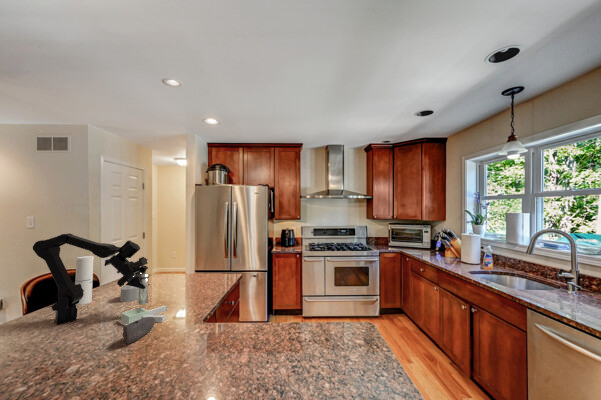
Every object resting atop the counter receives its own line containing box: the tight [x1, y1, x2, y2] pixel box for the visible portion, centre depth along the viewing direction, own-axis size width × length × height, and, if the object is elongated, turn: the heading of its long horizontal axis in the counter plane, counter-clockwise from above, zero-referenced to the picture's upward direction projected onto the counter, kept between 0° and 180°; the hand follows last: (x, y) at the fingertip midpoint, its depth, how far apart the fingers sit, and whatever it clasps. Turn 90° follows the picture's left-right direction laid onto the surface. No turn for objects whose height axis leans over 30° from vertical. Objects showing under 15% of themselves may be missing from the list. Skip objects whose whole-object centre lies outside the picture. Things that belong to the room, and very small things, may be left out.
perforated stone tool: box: [122, 317, 156, 345], centre depth 96 cm, size 15×5×7 cm, turn 168°
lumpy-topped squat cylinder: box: [119, 284, 139, 303], centre depth 140 cm, size 10×13×9 cm
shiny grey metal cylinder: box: [137, 272, 150, 305], centre depth 117 cm, size 4×4×14 cm
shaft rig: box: [117, 305, 168, 327], centre depth 113 cm, size 19×18×4 cm
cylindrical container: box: [74, 255, 95, 306], centre depth 134 cm, size 7×7×25 cm
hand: (146, 287), depth 118 cm, fingers closed on shiny grey metal cylinder, 4 cm apart
